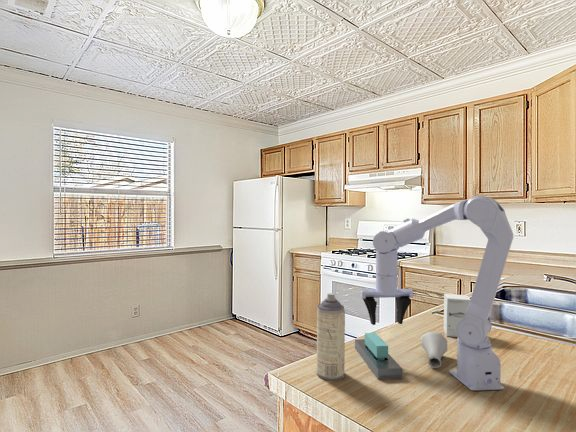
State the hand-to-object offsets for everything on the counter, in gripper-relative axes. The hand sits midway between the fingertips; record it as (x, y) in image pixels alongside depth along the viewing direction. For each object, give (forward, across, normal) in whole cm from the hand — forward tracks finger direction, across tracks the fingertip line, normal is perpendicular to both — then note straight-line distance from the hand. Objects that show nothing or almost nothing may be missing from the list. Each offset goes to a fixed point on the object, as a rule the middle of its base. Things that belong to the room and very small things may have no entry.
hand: (386, 323), depth 100 cm
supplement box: (+10, -30, -16) cm, 35 cm away
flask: (+6, -14, 0) cm, 15 cm away
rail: (+9, +4, +3) cm, 11 cm away
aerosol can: (+10, +18, +9) cm, 22 cm away
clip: (+9, +4, +2) cm, 10 cm away
